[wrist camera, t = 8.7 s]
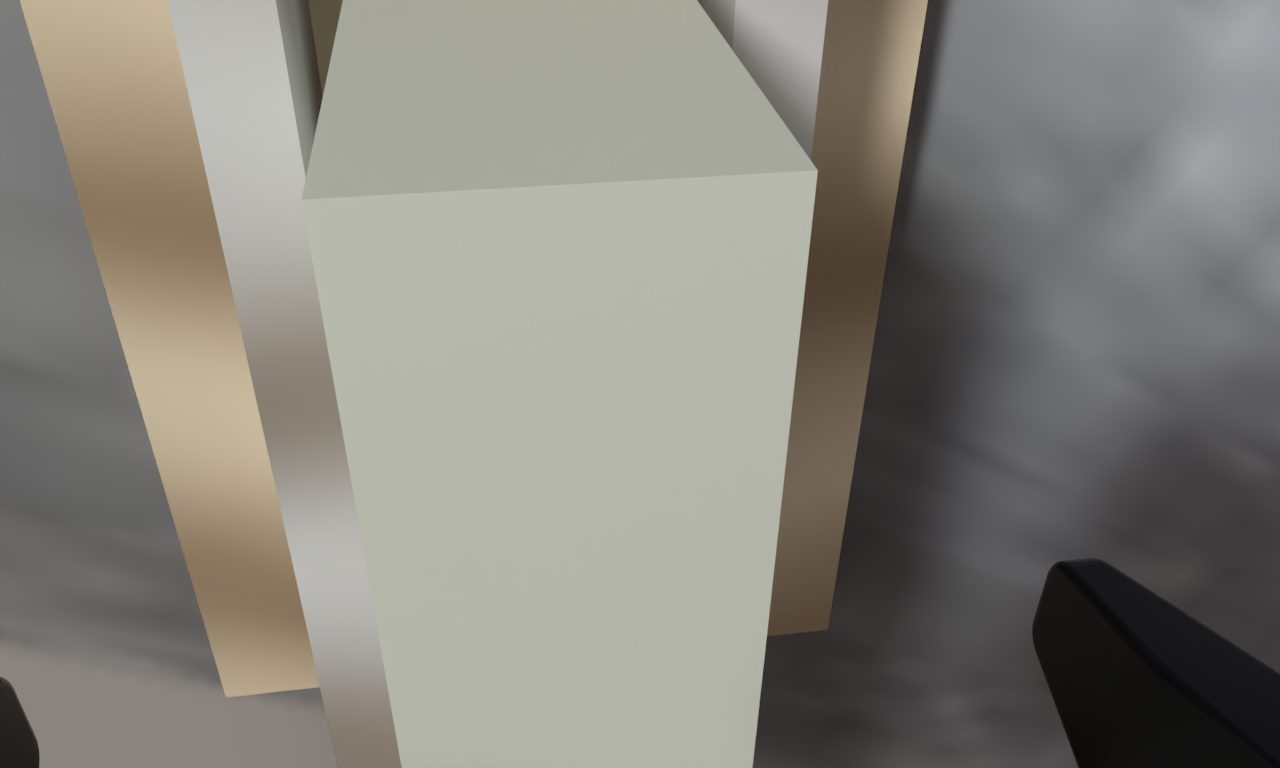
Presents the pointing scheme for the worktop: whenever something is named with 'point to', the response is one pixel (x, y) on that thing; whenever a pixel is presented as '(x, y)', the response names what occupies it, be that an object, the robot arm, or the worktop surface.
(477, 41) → the door panel
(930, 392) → the worktop surface
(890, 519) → the worktop surface
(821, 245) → the track base
